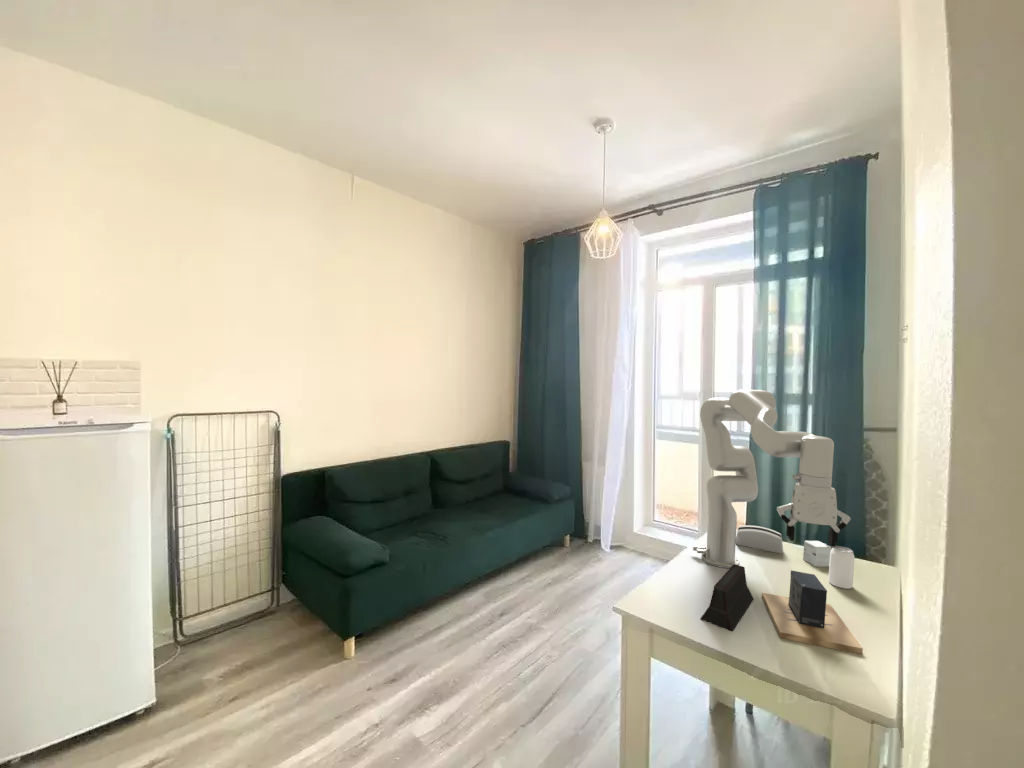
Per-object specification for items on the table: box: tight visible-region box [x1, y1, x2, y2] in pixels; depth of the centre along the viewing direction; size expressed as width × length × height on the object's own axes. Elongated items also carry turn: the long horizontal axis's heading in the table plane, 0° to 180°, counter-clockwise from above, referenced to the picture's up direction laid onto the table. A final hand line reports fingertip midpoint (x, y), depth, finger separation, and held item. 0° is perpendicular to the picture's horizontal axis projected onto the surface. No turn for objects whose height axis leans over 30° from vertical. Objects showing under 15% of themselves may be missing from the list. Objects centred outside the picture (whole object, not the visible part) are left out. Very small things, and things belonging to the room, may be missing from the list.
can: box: [828, 545, 855, 590], centre depth 146 cm, size 6×6×12 cm
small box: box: [788, 569, 828, 628], centre depth 123 cm, size 11×6×10 cm, turn 161°
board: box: [761, 592, 864, 655], centre depth 122 cm, size 18×22×2 cm
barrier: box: [700, 564, 755, 632], centre depth 128 cm, size 24×9×10 cm, turn 139°
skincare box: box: [802, 540, 832, 567], centre depth 162 cm, size 6×6×7 cm
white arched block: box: [736, 525, 784, 555], centre depth 175 cm, size 17×5×10 cm, turn 61°
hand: (810, 541), depth 122 cm, fingers open, 9 cm apart
